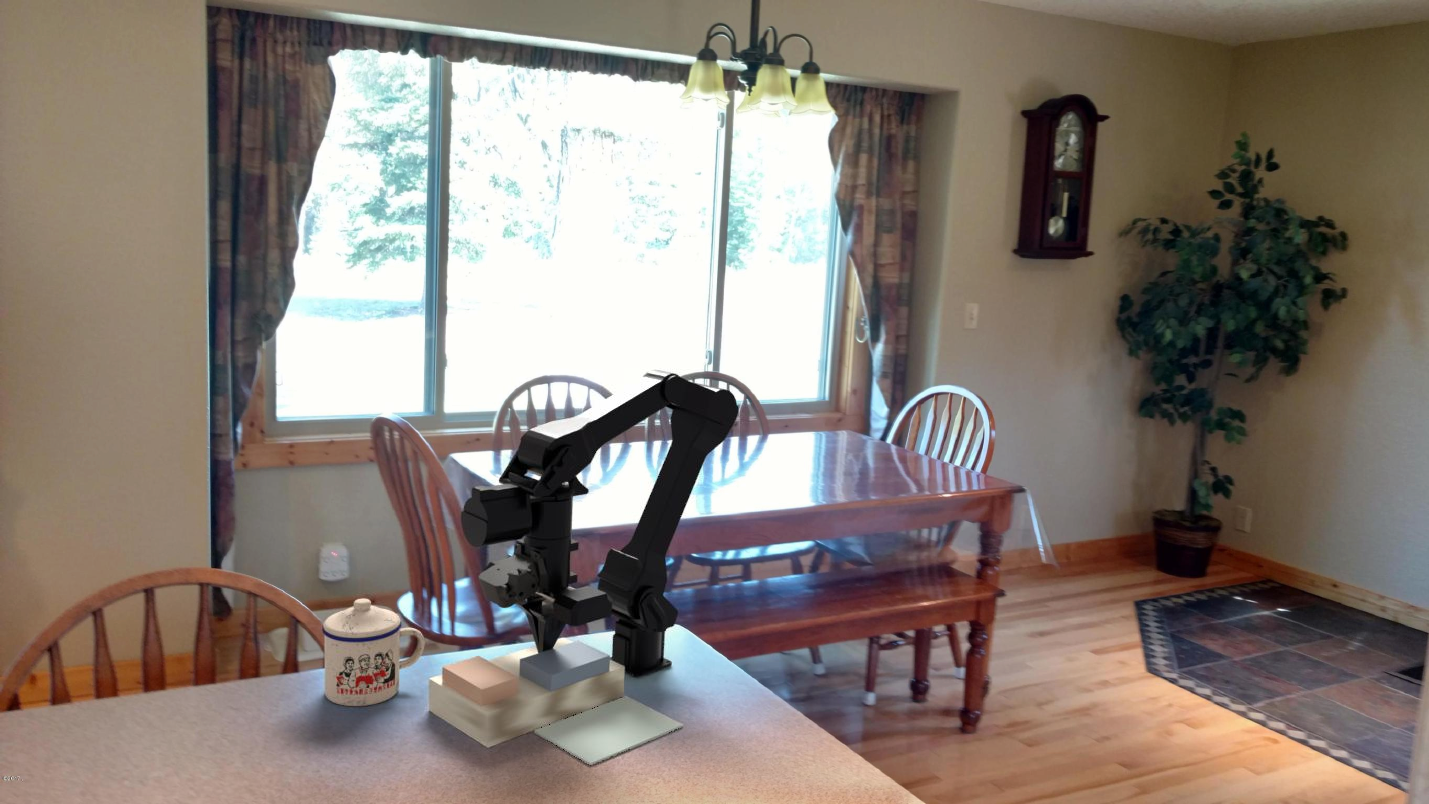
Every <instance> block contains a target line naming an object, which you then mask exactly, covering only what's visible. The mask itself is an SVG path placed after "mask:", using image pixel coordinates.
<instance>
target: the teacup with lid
mask: <svg viewBox="0 0 1429 804" xmlns="http://www.w3.org/2000/svg"><path fill="white" fill-rule="evenodd" d="M321 629H322V634H323V635H324V641H323V642H324V695H325V697H326V698H327V699H328V700H329V701H330V702H332V703H334V704H336V705H341V706H346V707H364V706H367V707H368V706H371V705H372V706H373V705H377V704H381V703H383V702H385V701H387V700H390V699H391V698H392V697H394V696H395V695H396V694H397V692H399V689H400V670H403V669H406V668H409V667H411V666H413V665H414V664H416V663H417V662H418V661H419V659H420V658H421V656H422V654H423V652H424V649H425V638H424V635H423V634H422V632H421V631H420V630H419V629H416V628H415V627H414V628H413V627H402V620H401V618H400V616H399V615H398V614H397V613H396V612H395V611H393V610H389V609H387V608H382V607H378V606H375V605H372V601H371V600H370V599H368V598H357V599H355V600H354V601H353V606H350V607H348V608H346V609H344V610H341V611H338V612H335V613H333V614H332V615H329V616H328V617H327V618H326V620H324V622H323V625H322V628H321ZM403 636H414V637H416V638H417V645H416V648H415V649H414V652H413V653H412V654H411V656H409V657H408V658H407V659H403V660H400V637H403Z"/></svg>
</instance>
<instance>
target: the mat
mask: <svg viewBox="0 0 1429 804" xmlns="http://www.w3.org/2000/svg"><path fill="white" fill-rule="evenodd" d="M681 727H682V728H683V727H684V724H682V723H681V722H678V721H676V720H675V719H673V718H670V717H668V716H667V715H664V714H663V713H661V712H659V711H658V710H655V709H652V708H650V707H649V706H647V705H645V704H643V703H641V702H639V701H637V700H635V699H633V698H631V697H629V696H627V695H625V696H623V697H622V698H619V699H617V700H614V701H611V702H609V703H606V704H603V705H601V706H598V707H595V708H593V709H590V710H587V711H584V712H582V713H579V714H576V715H574V716H571V717H568V718H566V719H563V720H560V721H558V722H555V723H552V724H550V725H547V726H544V727H542V728H539V729H536V730H534V734H536V735H538V736H539V737H541V738H542V739H544V740H546V741H547V740H548V741H547V742H549V741H550V742H549V743H551V742H552V743H553V744H552V743H551V744H552V745H554V746H556V745H557V746H558V748H559V747H560V748H559V749H561V750H563V749H564V750H565V751H564V750H563V751H564V752H566V751H567V752H566V753H568V752H569V753H570V754H569V753H568V754H569V755H571V756H573V757H574V756H575V757H574V758H576V757H577V758H576V759H578V758H579V759H581V760H582V761H581V760H580V761H581V762H583V761H584V762H583V763H584V764H586V763H588V764H589V765H588V764H587V765H588V766H590V765H592V764H594V765H596V764H595V763H597V762H599V763H601V762H603V761H602V760H604V761H606V760H608V759H611V758H612V757H611V756H613V757H615V756H618V755H619V754H618V753H620V754H622V753H621V752H623V753H625V752H626V751H625V750H627V751H629V750H628V749H630V750H632V749H634V748H636V747H639V746H642V745H644V744H646V743H649V742H650V741H653V740H655V739H657V738H661V737H662V736H665V735H668V734H670V733H671V731H672V732H674V730H675V729H677V730H679V729H681ZM678 728H679V729H678ZM675 731H676V730H675ZM669 732H670V733H669ZM648 741H649V742H648ZM557 746H556V747H557ZM624 751H625V752H624ZM617 754H618V755H617ZM610 757H611V758H610ZM607 758H608V759H607ZM579 759H578V760H579ZM605 759H606V760H605ZM597 764H598V763H597ZM592 766H593V765H592Z"/></svg>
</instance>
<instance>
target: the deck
mask: <svg viewBox="0 0 1429 804" xmlns="http://www.w3.org/2000/svg"><path fill="white" fill-rule="evenodd" d="M572 642H573V641H572V640H569V639H568V638H566V637H561V638H560V637H559V638H558V640H557V642H556V644H555V645H554V647H553V648H556V647H560V646H563V645H566V644H569V643H572ZM535 654H538V651H537V647H536V645H534V646H531V647H528V648H524V649H521V650H517V651H515V652H511V653H509V654H508V653H507V654H505V655H502V656H498V657H495V658H492V659H489V660H488V659H487V660H488V661H489V662H491V663H493V664H495V665H497V666H499V667H501V668H502V669H504V670H506V671H508V672H510V673H512V674H513V675H515V676H517V677H519V689H518V694H516V695H513V696H510V697H507V698H505V699H502V700H499V701H496V702H493V703H490V704H487V705H484V706H480V705H479V704H477V703H475V702H474V701H472V700H470V699H469V698H467V697H465V696H464V695H462V694H460V693H458V692H457V691H455V690H453V689H452V688H450V687H448V686H447V685H445V684H443V683H442V674H438V675H435V676H433V677H430V678H428V711H430V712H431V713H432V714H434V715H435V716H436V717H438V718H440V719H442V720H444V721H445V722H446V723H448V724H450V725H451V726H453V727H454V728H456V729H458V730H459V731H461V732H462V733H464V734H466V735H467V736H469V737H470V738H471V739H473V740H475V741H477V742H478V743H480V744H481V745H482V746H484V747H486V748H490V747H494V746H495V745H499V744H501V743H504V742H506V741H509V740H512V739H515V738H517V737H519V736H520V737H521V736H523V735H526V734H528V733H530V732H533V731H534V730H537V729H539V728H541V727H545V726H547V725H549V724H553V723H555V722H558V721H559V720H560V721H561V720H562V719H565V718H567V717H568V718H569V717H571V716H573V715H575V714H576V715H577V714H579V713H581V712H585V711H587V710H590V709H592V708H594V707H595V708H596V707H597V706H601V705H604V704H606V703H608V702H610V701H611V702H612V701H613V700H615V699H620V697H624V693H625V689H624V688H625V672H624V671H625V666H623V665H620V664H618V663H616V662H614V661H612V660H610V668H609V671H607V672H605V673H602V674H599V675H596V676H593V677H591V678H588V679H585V680H582V681H579V682H576V683H574V684H571V685H568V686H565V687H562V688H560V689H557V690H554V691H549V690H547V689H545V688H543V687H541V686H539V685H537V684H536V683H534V682H532V681H530V680H528V679H526V678H524V677H522V676H520V675H519V672H520V659H522V658H525V657H528V656H531V655H535Z"/></svg>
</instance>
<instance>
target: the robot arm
mask: <svg viewBox="0 0 1429 804" xmlns="http://www.w3.org/2000/svg"><path fill="white" fill-rule="evenodd" d="M664 408H667V409H670V410H672V412H671V415H670V419H669V421H670V430H671V444H670V447H669V449H668V451H667V454H666V455H665V458H664V461H663V463H662V464H661V465H662V466H661V468H660V470H659V473H658V475H657V477H656V480H655V482H654V485H653V487H652V489H651V492H650V495H649V497H648V499H647V501H646V504H645V506H644V509H643V511H642V514H641V515H640V519H639V521H638V523H637V525H636V528H635V530H634V532H633V535H632V537H631V539H630V540H629V542H628V543H627V544H626V545H625V546H624V547H622V548H621V549H620V550H617V549H616V548H610V549H609V551H608V552H607V555H606V558H605V560H604V561H605V562H604V564H603V566H602V568H601V569H600V571H599V572H598V574H597V576H596V577H597V578H599V581H598V584H597V588H595V587H593V586H591V585H586V586H582V587H579V588H574V587H572V586H569V585H571V584H575V583H578V574H577V573H575V572H573V571H571V567H572V566H571V565H572V564H571V562H572V561H571V560H572V552H575V551H578V550H579V544H580V543H579V541H577V540H575V539H573V538H572V536H573V535H572V533H573V506H574V505H573V504H574V497H577V496H578V497H579V496H585V495H587V494H589V493H590V492H589V491H590V490H589V489H588V487H587V486H585V485H584V484H583V483H582V482H581V481H580V480H579V479H578V475H579V474H581V472H582V471H584V470H585V469H586V468H587V467H588V466H589V465H591V464H592V462H593V460H594V458H595V457H596V454H597V452H598V451H599V450H600V449H601V448H602V447H603V446H605V445H607V444H608V443H609V442H611V441H612V440H614V439H616V438H617V437H619V436H621V435H622V434H624V433H626V432H627V431H629V430H630V429H632V428H634V427H635V426H636V425H639V424H640V423H641V422H643V421H645V420H647V419H649V417H651V416H653V415H655V414H657V413H658V412H659V411H661V410H663V409H664ZM739 409H740V408H739V406H738V403H737V399H736V397H735V395H734V394H733V392H732V391H731V390H728V389H725V388H721V387H715V386H711V385H709V384H707V385H706V384H702V383H697V382H692V381H690V380H688V379H686V378H684V377H681V376H680V375H679V374H677V373H674V372H671V371H670V372H669V371H665V370H661V369H653V370H650V371H646V373H645V374H644V375H642V378H640V379H638V380H636V381H634V382H633V383H630V385H627V386H626V387H624V388H623V389H621V390H619V391H618V392H615V393H614V394H613V395H610V396H609V397H607V398H606V399H604V400H602V401H601V402H599V403H597V404H595V405H593V406H592V407H590V408H588V409H587V410H585V411H583V412H582V413H580V414H578V415H575V416H573V417H568V418H564V419H563V418H562V419H557V420H552V421H549V422H545V423H544V424H541V425H537V426H535V427H533V428H530V429H529V430H527V431H526V432H524V433H523V435H522V436H521V437H520V443H519V446H518V449H517V450H516V452H515V454H514V455H513V456H512V458H511V460H510V461H509V463H508V464H507V466H506V467H505V469H504V471H503V472H502V474H501V475H500V477H499V478H498V483H499V484H497V485H490V486H487V485H479V486H477V485H476V486H473V487H472V488H471V497H469V498H468V499H467V500H466V501H465V503H464V505H463V509H462V510H461V513H460V523H461V528H462V531H463V535H464V537H465V540H466V541H467V543H468V544H469V545H470V546H471V547H473V548H481V547H487V546H490V545H496V544H497V545H498V544H503V543H508V542H513V541H516V542H515V544H514V545H513V546H514V547H513V553H512V555H511V556H509V557H506V558H501V559H497V560H492V561H489V562H488V564H487V566H486V567H485V568H484V569H483V571H482V572H481V573H480V574H479V575H478V580H479V583H480V586H481V589H482V592H483V594H484V597H485V600H486V601H487V602H492V603H494V604H496V605H497V606H498V607H499V608H502V609H508V608H512V607H513V606H514V605H516V606H517V607H518V608H519V609H520V610H522V611H523V612H524V614H525V616H526V618H527V620H528V624H529V627H530V630H531V634H532V637H533V640H534V644H535V646H536V647H537V651H538V653H541V652H544V651H547V650H550V649H553V647H554V645H555V644H556V642H557V640H558V639H560V636H561V634H562V632H563V631H564V628H565V627H566V625H568V626H571V627H572V626H573V627H576V626H577V627H578V626H581V625H585V624H588V623H592V622H596V621H599V620H602V619H605V618H609V617H612V616H613V617H614V618H617V619H618V620H617V621H615V622H614V625H615V626H614V634H612V647H611V649H612V650H611V656H610V660H612V661H614V662H616V663H618V664H620V665H623V666H625V671H624V673H625V674H628V675H630V676H632V677H634V678H641V677H643V676H647V675H649V674H653V673H654V672H657V671H658V672H659V671H661V670H663V669H665V668H668V667H671V666H672V663H673V662H672V660H669V659H668V658H665V641H666V640H665V639H666V638H665V637H666V635H665V634H666V632H667V629H669V628H672V627H674V626H675V624H676V622H677V618H678V614H679V610H678V609H677V608H676V606H674V605H673V604H672V602H670V601H669V600H668V599H667V598H666V596H664V595H665V592H666V591H665V590H666V587H667V583H668V571H667V569H668V568H667V559H666V556H667V552H668V550H669V548H670V546H671V543H672V540H673V538H674V536H675V533H676V530H677V528H678V526H679V523H680V521H681V519H682V516H683V514H684V511H685V509H686V507H687V504H688V502H689V499H690V497H691V494H692V491H693V490H694V487H695V485H696V482H697V479H698V477H699V474H700V472H701V471H702V470H701V469H702V467H703V466H704V462H705V460H706V458H707V456H708V455H709V454H710V453H711V452H712V451H713V450H715V449H716V448H717V447H718V446H720V445H721V444H722V443H723V442H724V441H725V440H726V439H727V437H728V435H729V433H730V431H731V429H732V428H733V426H734V425H735V422H736V421H737V419H738V418H737V417H738V416H739ZM528 473H530V474H533V475H535V476H538V477H539V479H536V478H535V477H530V476H528V475H526V474H528Z"/></svg>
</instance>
